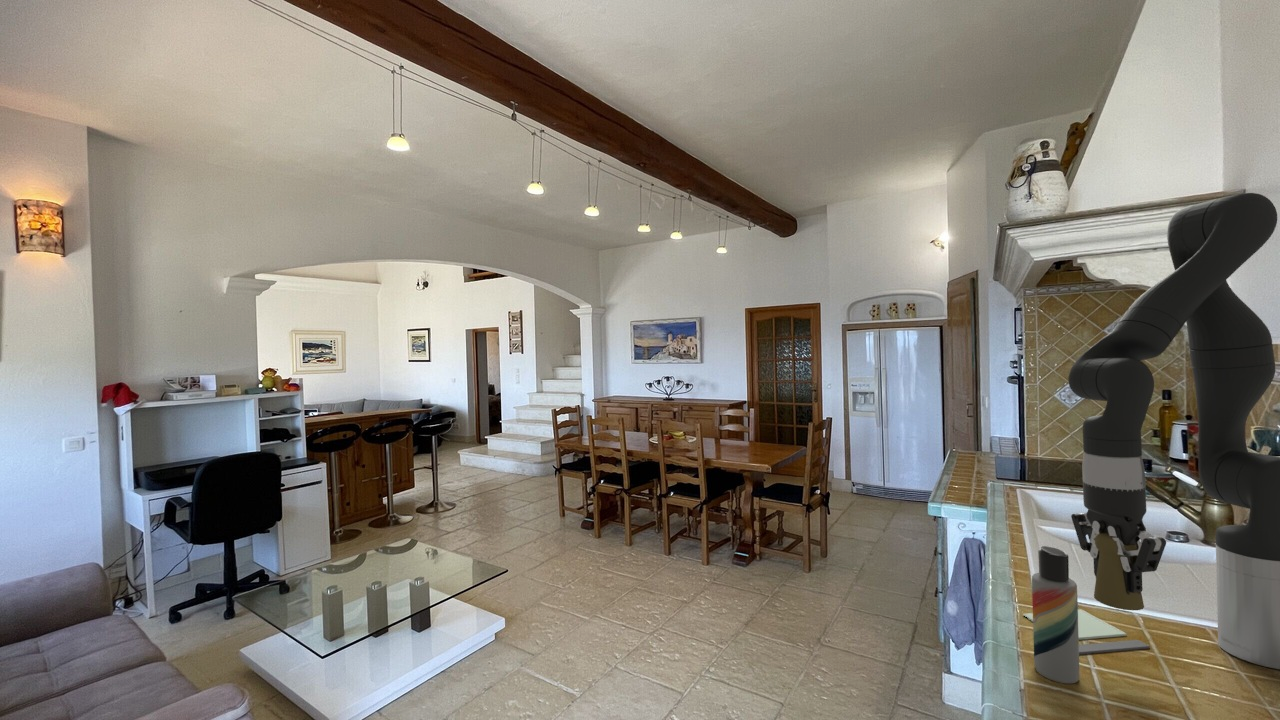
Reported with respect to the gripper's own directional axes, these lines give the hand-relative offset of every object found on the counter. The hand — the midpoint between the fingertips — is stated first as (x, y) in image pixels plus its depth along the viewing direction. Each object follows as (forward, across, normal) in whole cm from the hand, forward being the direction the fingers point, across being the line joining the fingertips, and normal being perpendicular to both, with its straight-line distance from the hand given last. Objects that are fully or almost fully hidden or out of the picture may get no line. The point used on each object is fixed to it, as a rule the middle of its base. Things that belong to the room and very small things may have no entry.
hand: (1117, 586), depth 85 cm
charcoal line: (+13, +5, -2) cm, 14 cm away
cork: (+3, 0, 0) cm, 3 cm away
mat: (+13, +12, -4) cm, 18 cm away
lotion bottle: (+13, 0, +11) cm, 17 cm away
